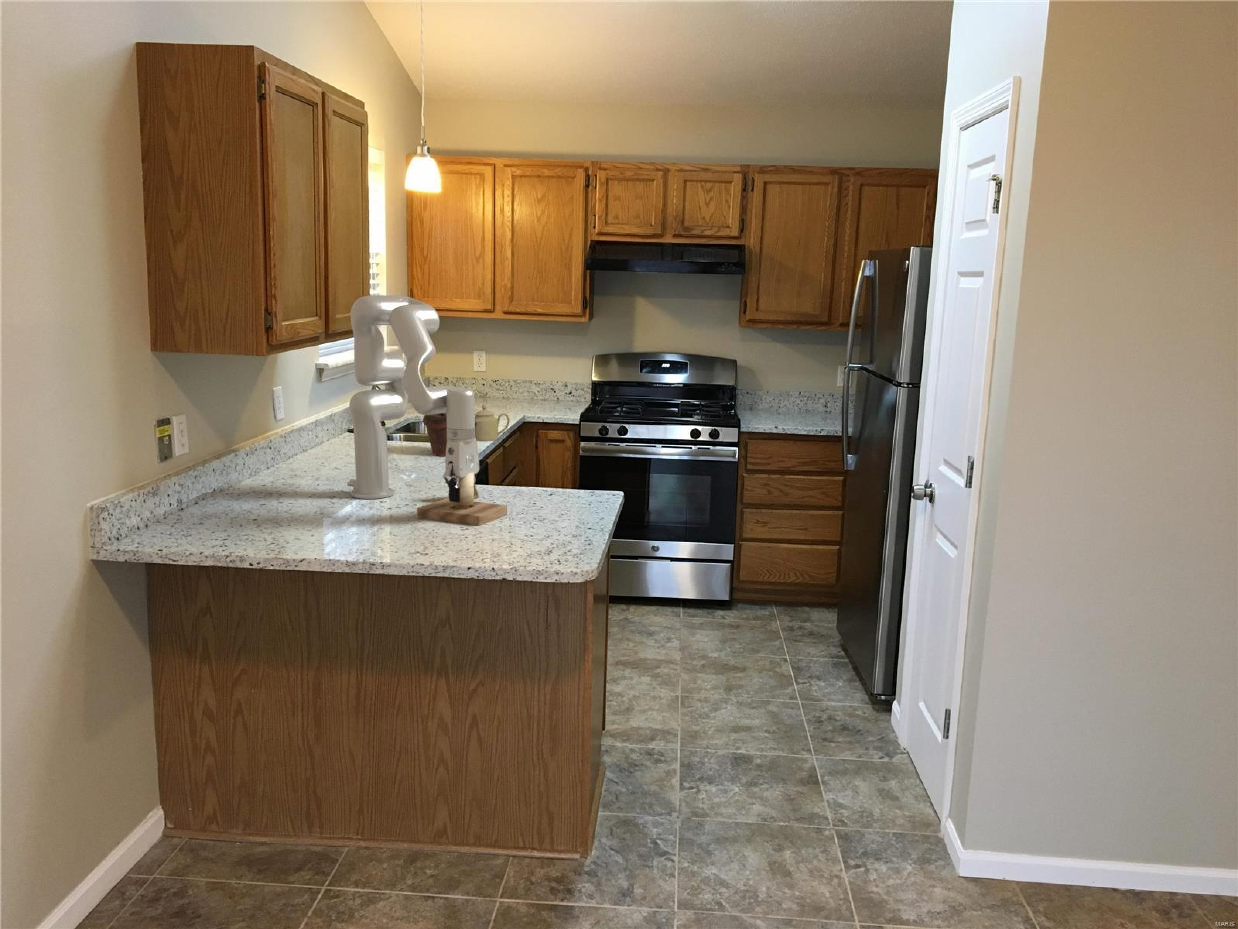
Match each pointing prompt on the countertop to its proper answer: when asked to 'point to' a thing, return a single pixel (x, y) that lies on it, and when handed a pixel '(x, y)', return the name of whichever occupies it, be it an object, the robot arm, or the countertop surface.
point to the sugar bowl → (488, 425)
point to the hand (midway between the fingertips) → (462, 498)
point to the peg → (465, 492)
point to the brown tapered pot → (437, 432)
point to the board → (462, 512)
